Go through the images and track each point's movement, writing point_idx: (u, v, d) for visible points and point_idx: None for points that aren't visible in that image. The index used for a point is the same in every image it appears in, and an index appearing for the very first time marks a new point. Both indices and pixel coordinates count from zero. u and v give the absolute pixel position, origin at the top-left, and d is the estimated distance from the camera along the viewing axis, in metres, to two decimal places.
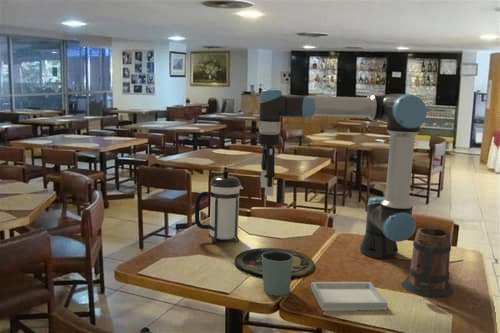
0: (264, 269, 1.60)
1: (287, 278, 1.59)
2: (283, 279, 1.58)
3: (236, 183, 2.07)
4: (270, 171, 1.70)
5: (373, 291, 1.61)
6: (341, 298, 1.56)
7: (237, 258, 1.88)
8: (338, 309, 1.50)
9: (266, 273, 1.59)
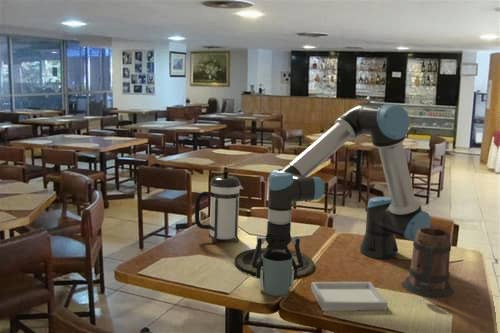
0: (264, 269, 1.60)
1: (287, 278, 1.59)
2: (283, 279, 1.58)
3: (236, 183, 2.07)
4: (252, 260, 1.61)
5: (373, 291, 1.61)
6: (341, 298, 1.56)
7: (237, 258, 1.88)
8: (338, 309, 1.50)
9: (266, 273, 1.59)
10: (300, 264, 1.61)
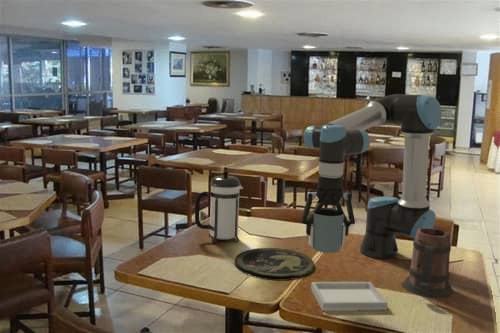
0: (314, 225, 1.54)
1: (338, 234, 1.53)
2: (334, 235, 1.52)
3: (236, 183, 2.07)
4: (302, 216, 1.55)
5: (373, 291, 1.61)
6: (341, 298, 1.56)
7: (237, 258, 1.88)
8: (338, 309, 1.50)
9: (317, 229, 1.53)
10: (352, 220, 1.55)
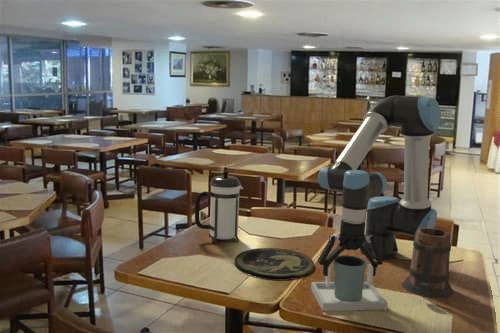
0: (337, 274, 1.55)
1: (361, 284, 1.54)
2: (357, 285, 1.53)
3: (236, 183, 2.07)
4: (320, 257, 1.55)
5: (373, 291, 1.61)
6: None
7: (237, 258, 1.88)
8: (338, 309, 1.50)
9: (339, 278, 1.54)
10: (379, 261, 1.56)
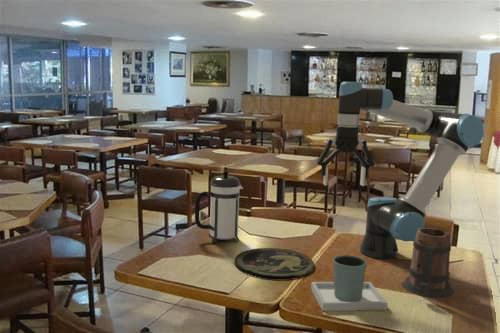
0: (337, 274, 1.55)
1: (361, 284, 1.54)
2: (357, 285, 1.53)
3: (236, 183, 2.07)
4: (319, 159, 1.77)
5: (373, 291, 1.61)
6: None
7: (237, 258, 1.87)
8: (338, 309, 1.50)
9: (339, 278, 1.54)
10: (371, 163, 1.77)
